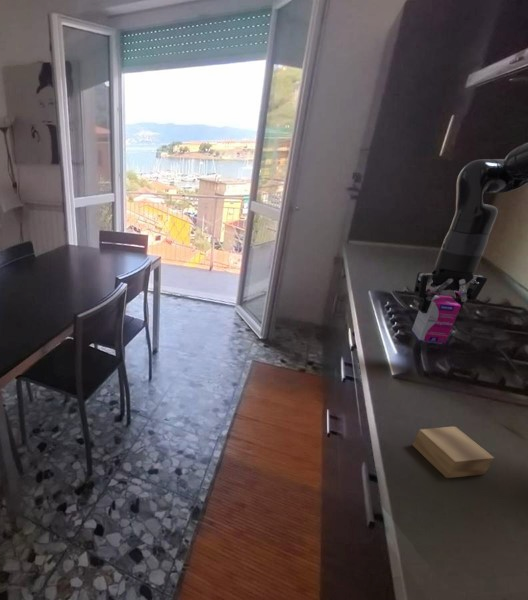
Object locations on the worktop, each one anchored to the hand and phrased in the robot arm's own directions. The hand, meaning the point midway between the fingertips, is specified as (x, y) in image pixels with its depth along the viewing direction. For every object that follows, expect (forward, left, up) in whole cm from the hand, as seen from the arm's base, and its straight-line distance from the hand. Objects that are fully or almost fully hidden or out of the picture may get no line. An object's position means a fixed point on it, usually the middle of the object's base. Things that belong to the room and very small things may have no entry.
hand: (437, 312), depth 91 cm
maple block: (+10, +32, -18) cm, 38 cm away
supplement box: (0, 0, -8) cm, 8 cm away
